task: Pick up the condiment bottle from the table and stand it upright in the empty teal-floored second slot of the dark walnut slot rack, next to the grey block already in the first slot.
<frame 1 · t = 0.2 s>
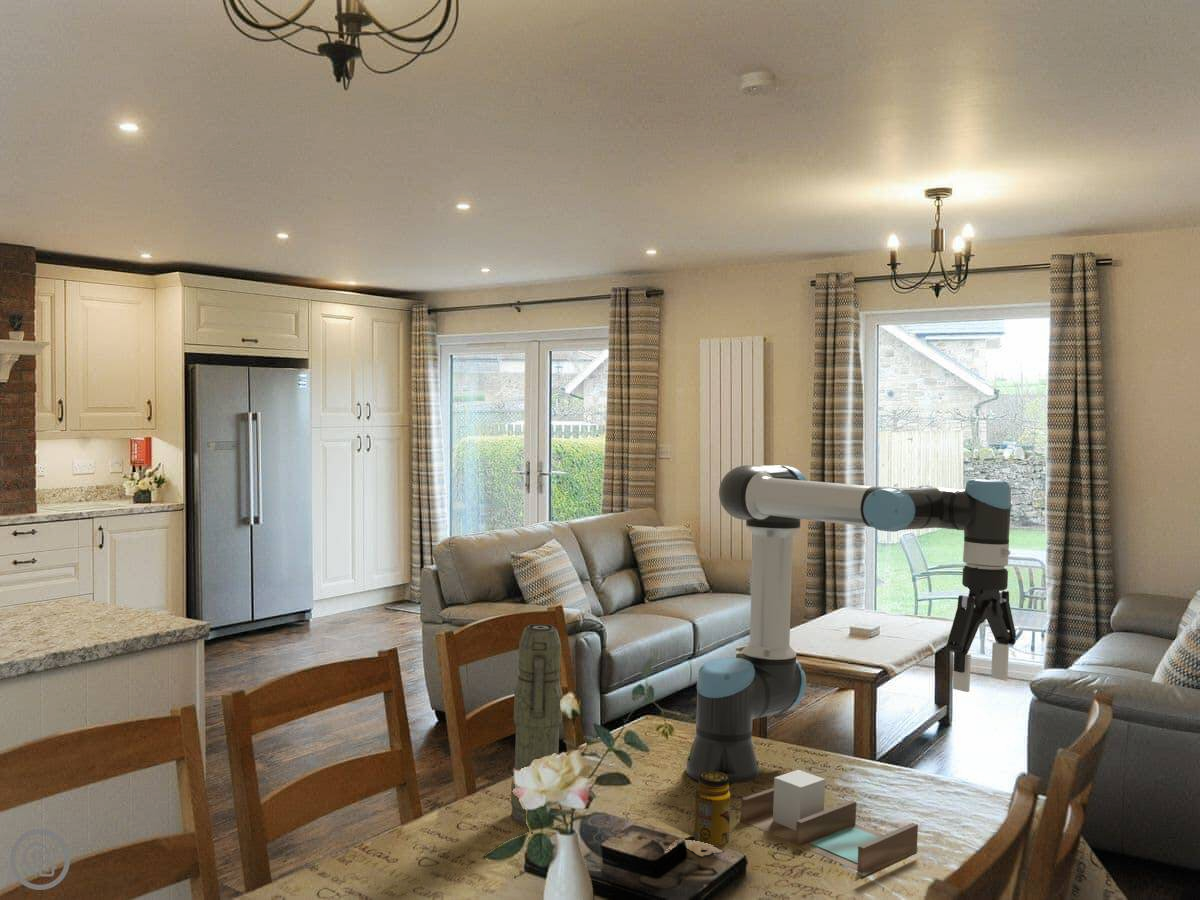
hand: (980, 684, 173), 28 cm above the table, tool pointing down, fingers open, 13 cm apart
condiment: (706, 846, 167), on the table
rack: (826, 839, 171), on the table
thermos: (534, 818, 177), on the table
block: (798, 821, 176), point 1 cm above the table, touching rack
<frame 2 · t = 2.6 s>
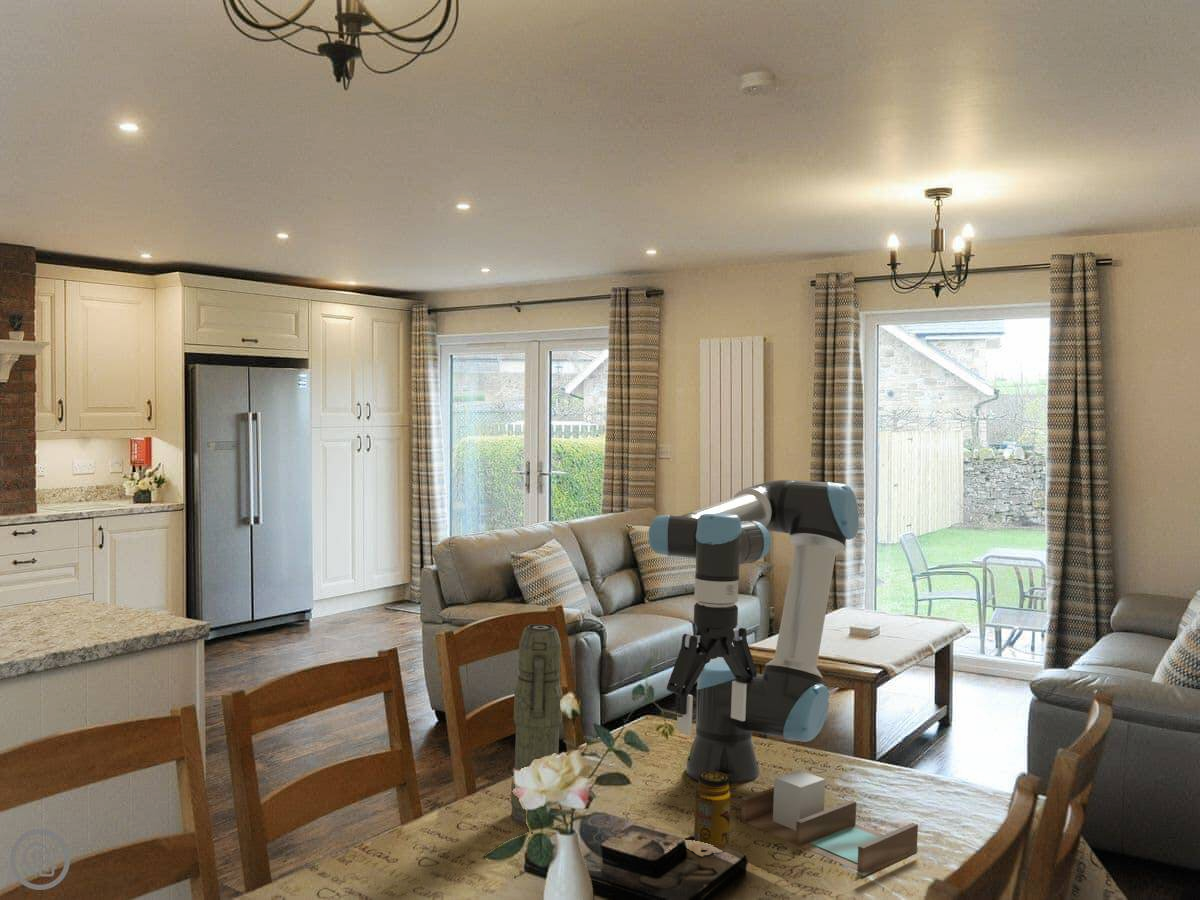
hand: (711, 726, 167), 21 cm above the table, tool pointing down, fingers open, 13 cm apart
nothing on the table moved.
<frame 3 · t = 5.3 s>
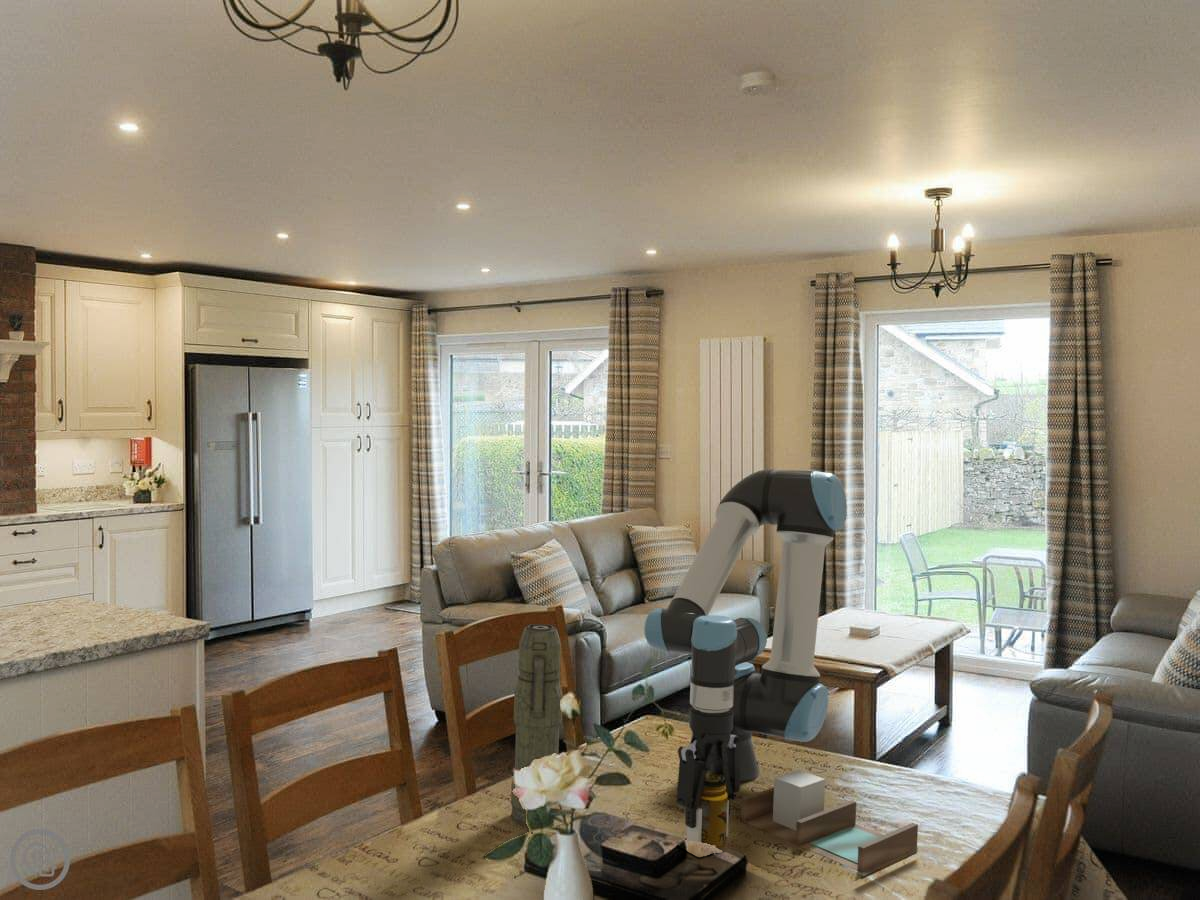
hand: (707, 839, 167), 1 cm above the table, tool pointing down, fingers closed on condiment, 6 cm apart
condiment: (703, 847, 167), on the table, touching gripper
everything else where it was.
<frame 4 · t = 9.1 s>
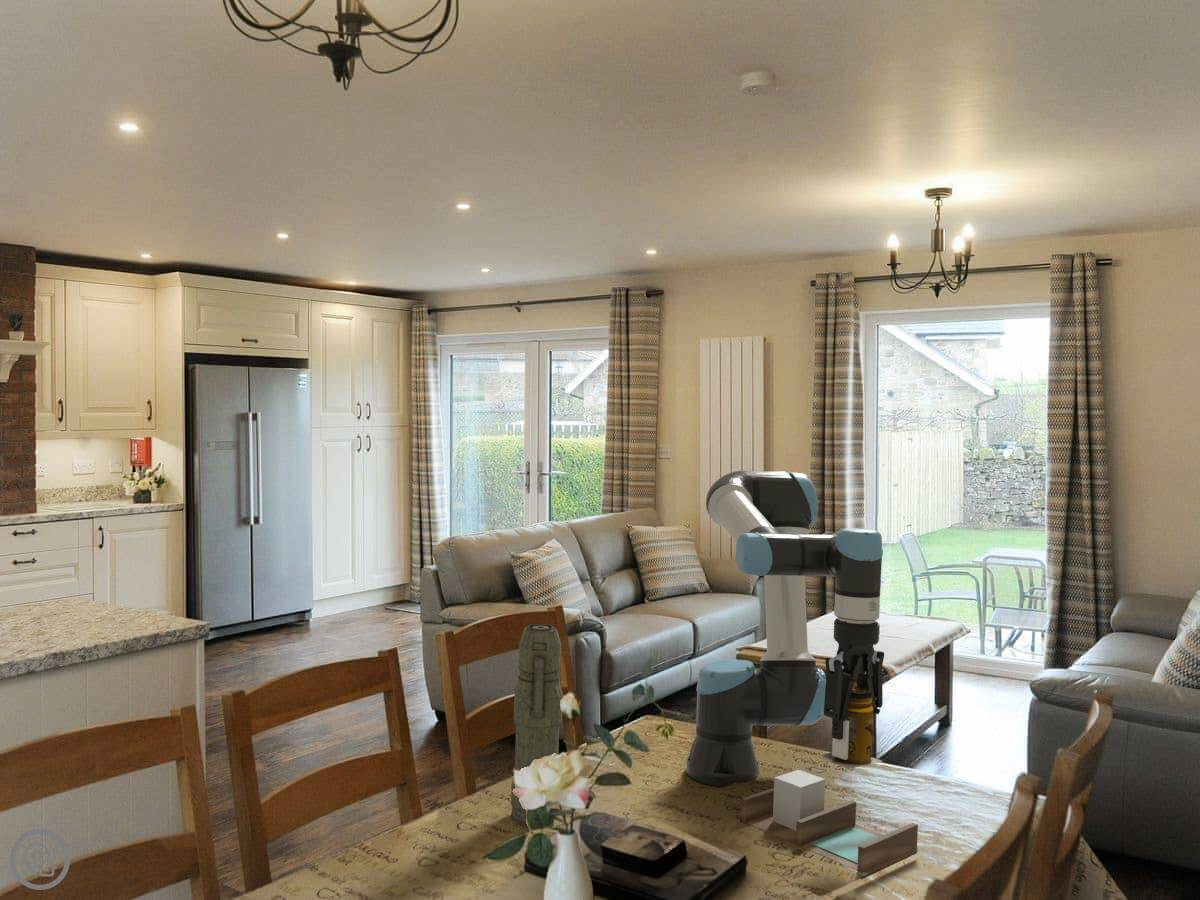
hand: (852, 753, 166), 17 cm above the table, tool pointing down, fingers closed on condiment, 6 cm apart
condiment: (849, 760, 165), point 16 cm above the table, touching gripper
everything else where it was.
when the fingers open (3 cm above the table, at t = 12.6 s): condiment drops 1 cm, resting on rack.
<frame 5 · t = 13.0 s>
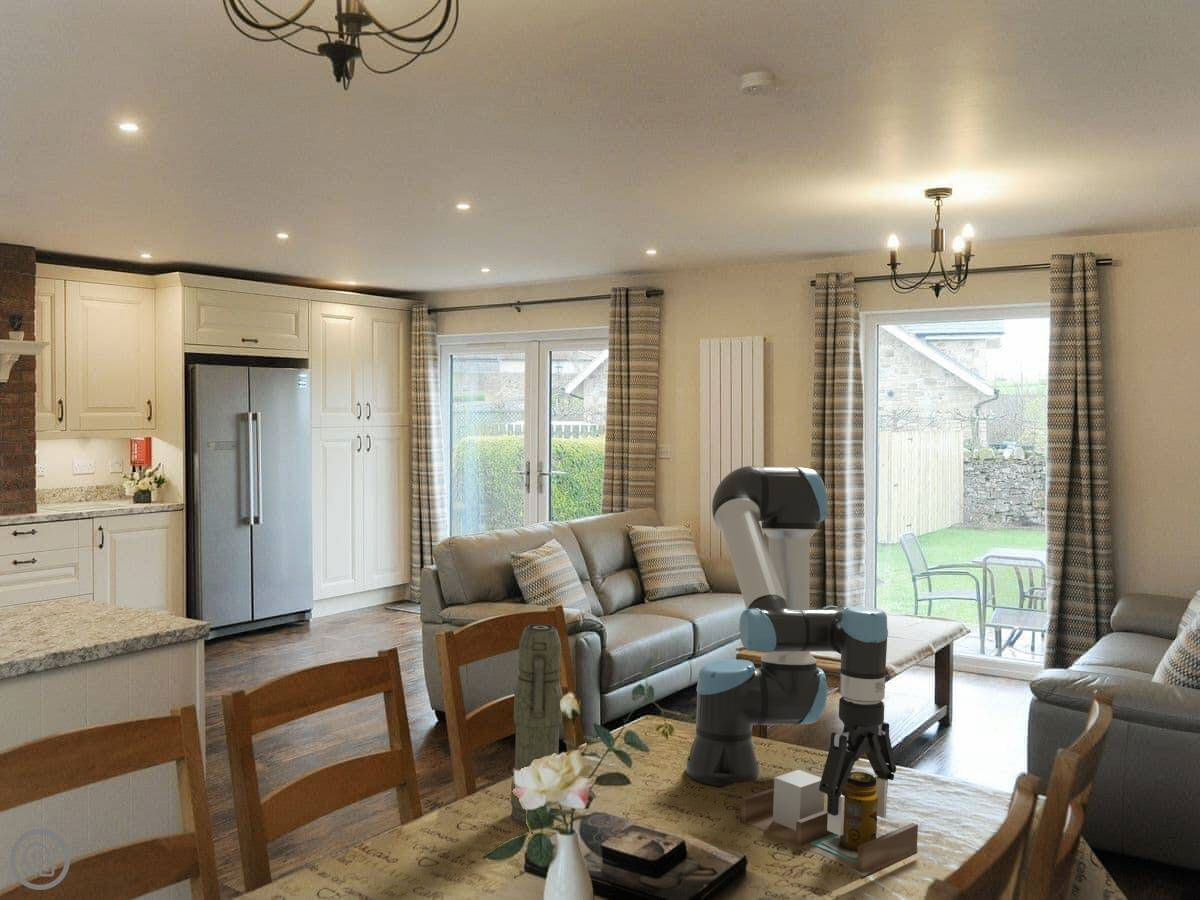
hand: (857, 823, 166), 5 cm above the table, tool pointing down, fingers open, 12 cm apart
condiment: (853, 847, 166), point 1 cm above the table, touching rack
everything else where it was.
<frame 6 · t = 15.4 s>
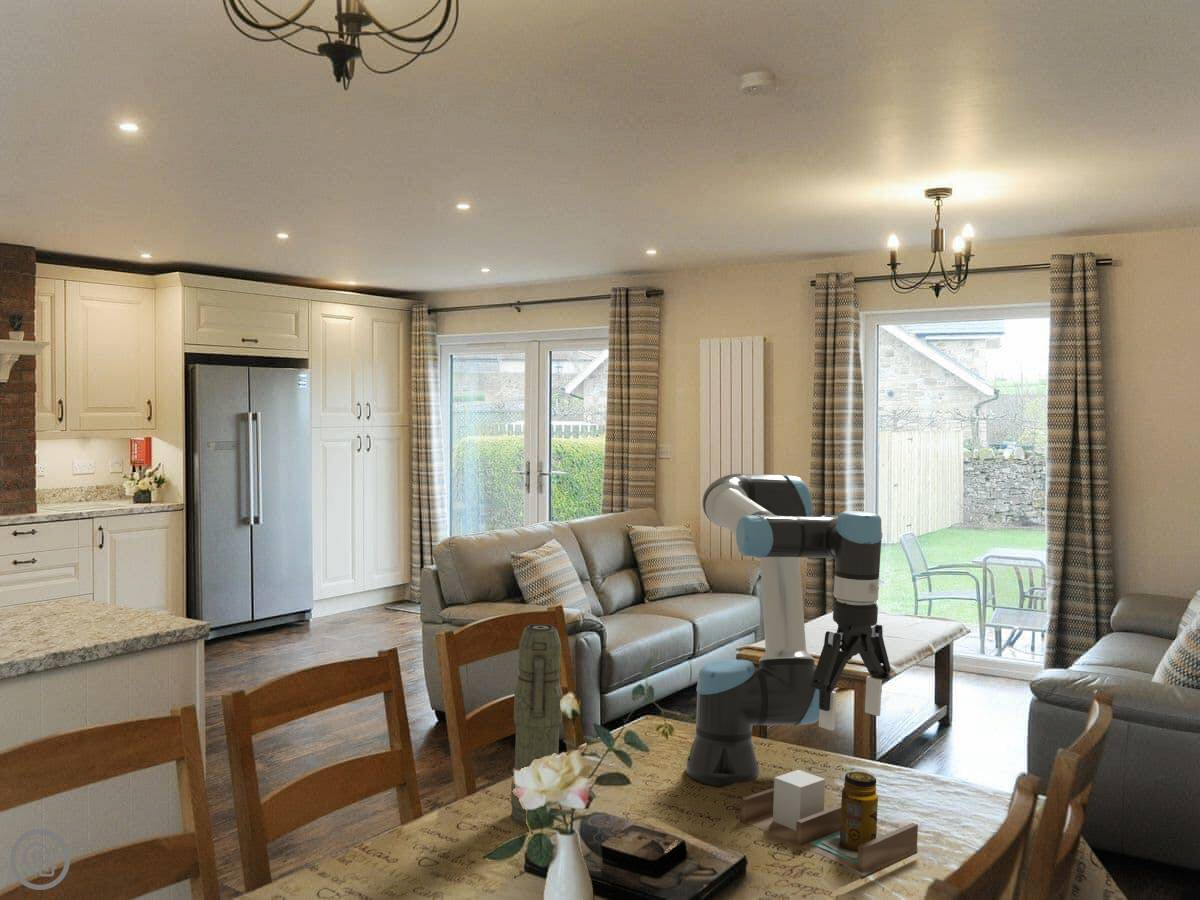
hand: (850, 721, 169), 22 cm above the table, tool pointing down, fingers open, 13 cm apart
nothing on the table moved.
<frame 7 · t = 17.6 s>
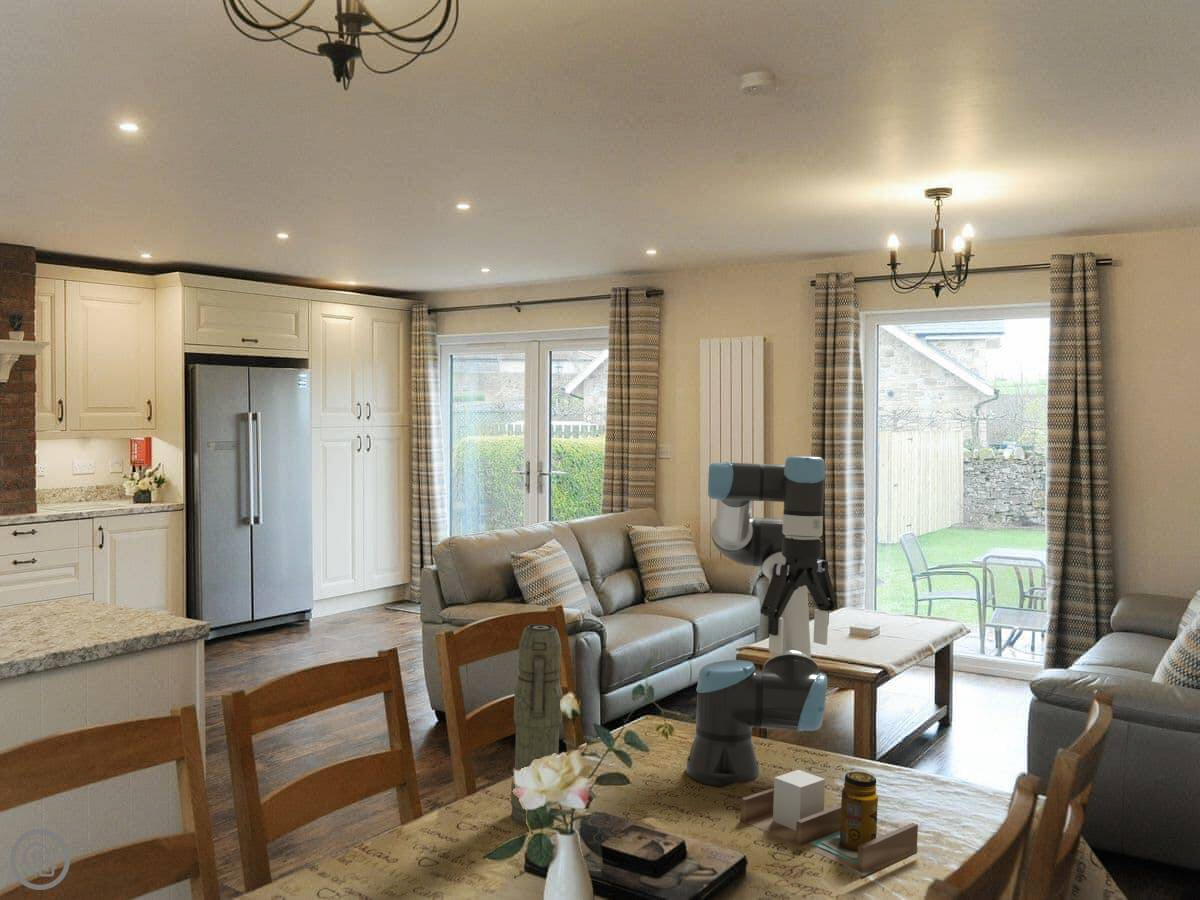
hand: (798, 647, 185), 31 cm above the table, tool pointing down, fingers open, 13 cm apart
nothing on the table moved.
at the end: condiment inside the target area on the rack (0.9 cm from its centre), point 1.0 cm above the rack's base; condiment tilted 0°; block moved 0.1 cm from its start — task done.
